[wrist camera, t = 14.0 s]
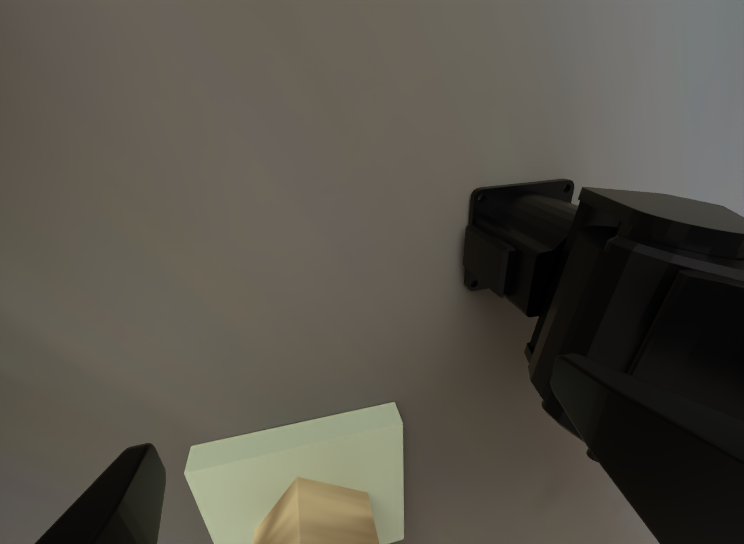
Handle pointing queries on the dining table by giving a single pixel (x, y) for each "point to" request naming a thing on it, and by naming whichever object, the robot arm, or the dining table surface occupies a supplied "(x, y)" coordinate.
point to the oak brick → (318, 516)
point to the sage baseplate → (300, 470)
